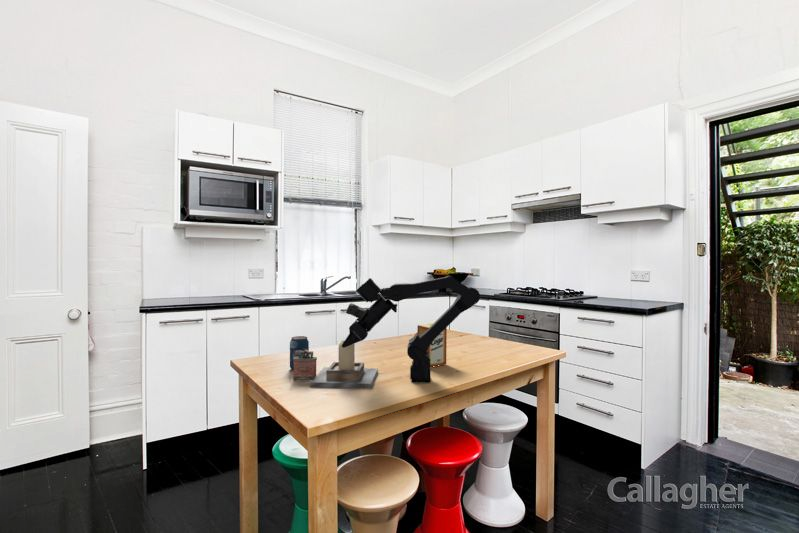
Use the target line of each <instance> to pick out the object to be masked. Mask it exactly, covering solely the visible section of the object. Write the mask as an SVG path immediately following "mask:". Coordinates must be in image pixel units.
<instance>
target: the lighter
mask: <svg viewBox="0 0 799 533" xmlns="http://www.w3.org/2000/svg"><path fill="white" fill-rule="evenodd" d="M295 355H299V357H294V358H293V361H294V371H293V377H292V380H293V381H296V380H311V381H312V380H313V378H314V377H315V376H316V375H317V360H318V358H317V357H316V356H314V351H312V350H309V351H308V350H305V351H296V352H295ZM301 355H303V356H302V357H301Z"/></svg>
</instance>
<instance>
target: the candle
mask: <svg viewBox="0 0 799 533" xmlns="http://www.w3.org/2000/svg"><path fill="white" fill-rule="evenodd" d="M344 341H345V340H341V341H340V342H339V343H338V362H339V370H354V368H355V361H356V360H355V356H356V355H355V351H356V349H355V345H356V343H354V344H352V345H350V346H347V347H345V348H343V347H342V344H343V343H344Z"/></svg>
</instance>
